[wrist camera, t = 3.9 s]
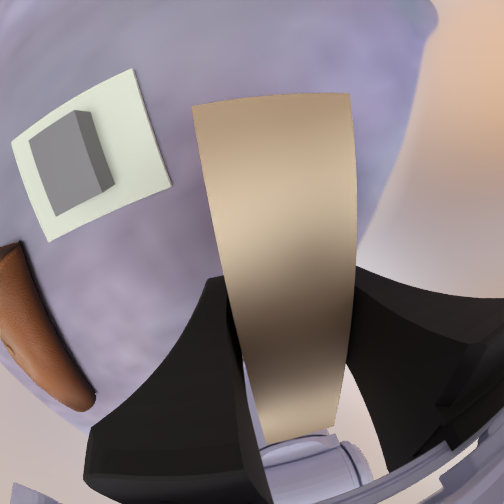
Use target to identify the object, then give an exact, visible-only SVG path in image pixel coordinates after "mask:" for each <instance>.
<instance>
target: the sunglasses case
mask: <svg viewBox="0 0 504 504" xmlns="http://www.w3.org/2000/svg"><path fill="white" fill-rule="evenodd" d="M0 339H1V340H2V342H3V343H4V345H5V347H6V348H7V350H8V352H9V353H10V355H11V356H12V358H13V359H14V361H15V362H16V363H17V364H18V365H19V366H20V367H21V368H22V369H23V370H24V371H25V372H26V374H27V375H28V376H29V377H30V378H31V379H32V380H33V381H34V382H35V383H36V384H37V385H38V386H39V387H41V388H42V389H43V390H44V391H46V392H47V393H48V394H49V395H51V396H52V397H53V398H55V399H56V400H58V401H59V402H60V403H62V404H64V405H65V406H67V407H69V408H71V409H73V410H75V411H77V412H85V411H87V410H89V409H90V408H91V407H92V406H93V405H94V403H95V401H96V395H95V392H94V391H93V389H92V388H91V387H90V385H89V384H88V383H87V381H86V380H85V379H84V378H83V376H82V374H81V373H80V372H79V371H78V369H77V368H76V366H75V364H74V363H73V362H72V360H71V359H70V357H69V356H68V354H67V352H66V350H65V348H64V347H63V345H62V343H61V341H60V339H59V337H58V335H57V333H56V331H55V330H54V328H53V326H52V324H51V322H50V320H49V318H48V316H47V313H46V311H45V309H44V306H43V304H42V302H41V300H40V297H39V295H38V293H37V290H36V288H35V285H34V283H33V280H32V277H31V274H30V271H29V268H28V266H27V263H26V260H25V256H24V253H23V250H22V248H21V246H20V243H19V242H18V243H13V244H9V245H6V246H3V247H0Z"/></svg>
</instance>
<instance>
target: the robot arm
mask: <svg viewBox="0 0 504 504" xmlns="http://www.w3.org/2000/svg"><path fill="white" fill-rule="evenodd" d="M346 364H347V366H348V368H349V370H350V371H351V373H352V375H353V377H354V379H355V381H356V383H357V386H358V388H359V390H360V392H361V395H362V397H363V399H364V402H365V404H366V406H367V409H368V411H369V414H370V416H371V419H372V422H373V424H374V427H375V430H376V433H377V435H378V439H379V442H380V445H381V448H382V452H383V455H384V458H385V462H386V466H387V469H388V471H389V474H387V475H385V476H383V477H381V478H379V479H377V480H374V481H373V476H372V473H371V469H370V467H369V464H368V462H367V460H366V458H365V456H364V455H363V453H362V452H361V450H360V449H359V448H358V447H357V446H355V445H353V444H351V443H350V442H348V441H342V442H340V443H339V441H338V438H337V436H336V434H332V435H329V433H328V430H327V428H326V429H323V430H320V431H317V432H314V433H310V434H307V435H304V436H300V437H297V438H293V439H289V440H285V441H281V442H277V443H273V444H269V445H267V444H266V441H265V437H264V434H263V430H262V427H261V423H260V419H259V416H258V412H257V408H256V405H255V401H254V397H253V394H252V390H251V386H250V382H249V378H248V374H247V370H246V367H245V363H244V361H243V358H242V351H241V347H240V342H239V338H238V334H237V330H236V326H235V322H234V318H233V313H232V309H231V305H230V300H229V296H228V292H227V287H226V283H225V278H224V276H219V277H214V278H209V279H208V280H207V281H206V284H205V287H204V290H203V292H202V295H201V297H200V299H199V302H198V304H197V306H196V308H195V310H194V312H193V315H192V317H191V318H190V320H189V322H188V324H187V326H186V327H185V329H184V331H183V333H182V334H181V336H180V338H179V339H178V341H177V342H176V344H175V345H174V347H173V348H172V350H171V351H170V353H169V354H168V355H167V357H166V358H165V359H164V360H163V362H162V363H161V364H160V365H159V367H158V368H157V369H156V370H155V371H154V372H153V374H152V375H151V376H150V377H149V378H148V379H147V380H146V381H145V382H144V383H143V384H142V385H141V386H140V387H139V388H138V389H137V390H136V391H135V392H134V393H133V394H132V395H131V396H130V397H129V398H128V399H127V400H126V401H124V402H123V403H122V404H121V405H120V406H119V407H117V408H116V409H115V410H113V411H112V412H111V413H110V414H108V415H107V416H106V417H104V418H103V419H102V420H100V421H99V422H98V423H96V424H95V425H94V426H92V427H91V430H90V434H89V439H88V442H87V450H86V457H85V465H84V474H83V480H84V481H85V482H86V484H87V485H88V486H89V487H90V488H91V489H93V490H95V491H96V492H98V493H100V494H102V495H104V496H106V497H108V498H110V499H112V500H115V501H117V502H119V503H121V504H377V503H379V502H381V501H383V500H385V499H387V498H389V497H391V496H393V495H395V494H397V493H399V492H400V491H403V490H405V489H406V488H408V487H410V486H411V485H413V484H415V483H417V482H418V481H420V480H422V479H423V478H425V477H426V476H428V475H430V474H431V473H432V472H434V471H436V470H437V469H439V468H440V467H442V466H443V465H444V464H446V463H447V462H449V461H450V460H451V459H453V458H454V457H455V456H457V455H458V454H459V453H461V452H462V451H463V450H465V449H466V448H467V447H468V446H470V445H471V444H472V443H473V442H474V441H475V440H477V439H478V438H479V439H478V445H477V448H476V449H475V450H473V451H472V452H471V453H470V454H469V455H467V456H466V457H465V458H464V459H463V460H461V461H460V462H459V463H458V464H456V465H455V466H453V467H452V468H451V469H449V470H448V471H447V472H445V473H444V474H442V475H441V476H440V478H439V480H440V482H441V483H442V485H443V488H441V489H440V490H438V491H437V492H435V493H434V494H432V495H430V496H429V497H427V498H426V499H424V500H423V501H421V502H419V503H417V504H504V298H472V297H462V296H454V295H448V294H442V293H437V292H432V291H428V290H423V289H420V288H416V287H412V286H408V285H406V284H402V283H399V282H396V281H393V280H391V279H388V278H385V277H382V276H380V275H377V274H375V273H372V272H370V271H367V270H365V269H363V268H360V267H358V266H356V269H355V284H354V297H353V308H352V318H351V327H350V335H349V343H348V351H347V357H346ZM10 504H61V503H58V502H57V501H56V500H54V499H52V498H50V497H48V496H46V495H44V494H41V493H39V492H37V491H35V490H32V489H30V488H27V487H25V486H22V485H20V484H18V483H13V487H12V494H11V501H10Z"/></svg>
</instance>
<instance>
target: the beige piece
mask: <svg viewBox="0 0 504 504" xmlns="http://www.w3.org/2000/svg"><path fill="white" fill-rule="evenodd" d="M191 107H192V113H193V119H194V125H195V131H196V137H197V143H198V148H199V154H200V159H201V165H202V170H203V176H204V181H205V186H206V191H207V197H208V202H209V207H210V212H211V217H212V222H213V227H214V232H215V236H216V241H217V246H218V251H219V255H220V260H221V265H222V269H223V274H224V278H225V283H226V287H227V292H228V296H229V300H230V305H231V309H232V313H233V318H234V322H235V326H236V330H237V334H238V338H239V342H240V347H241V351H242V355H243V359H244V363H245V367H246V370H247V374H248V378H249V382H250V386H251V390H252V394H253V397H254V401H255V405H256V408H257V412H258V416H259V419H260V423H261V427H262V430H263V434H264V437H265V441H266V444H267V445H269V444H273V443H277V442H281V441H285V440H289V439H293V438H297V437H300V436H304V435H307V434H310V433H314V432H317V431H320V430H323V429H326V428H329V427H332V426H334V422H335V417H336V413H337V408H338V403H339V398H340V393H341V388H342V382H343V376H344V370H345V364H346V357H347V351H348V343H349V335H350V327H351V318H352V308H353V297H354V284H355V269H356V246H357V180H356V158H355V143H354V131H353V120H352V110H351V102H350V94H349V93H300V94H281V95H268V96H257V97H248V98H240V99H232V100H225V101H219V102H213V103H207V104H201V105H196V106H191Z"/></svg>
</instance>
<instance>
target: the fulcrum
mask: <svg viewBox="0 0 504 504" xmlns="http://www.w3.org/2000/svg"><path fill="white" fill-rule="evenodd" d="M11 144H12V148H13V151H14V155H15V158H16V162H17V165H18V168H19V171H20V174H21V177H22V180H23V183H24V186H25V188H26V191H27V194H28V196H29V199H30V201H31V204H32V206H33V209H34V211H35V214H36V216H37V218H38V221H39V223H40V225H41V227H42V230H43V232H44V234H45V236H46V238H47V240H48V242H50V241H52V240H54V239H56V238H58V237H60V236H62V235H64V234H66V233H68V232H70V231H72V230H74V229H76V228H78V227H80V226H82V225H84V224H86V223H88V222H90V221H92V220H94V219H96V218H99V217H101V216H103V215H105V214H107V213H110V212H112V211H114V210H116V209H119V208H121V207H123V206H125V205H128V204H130V203H132V202H135V201H137V200H140V199H142V198H144V197H147V196H149V195H152V194H154V193H157V192H159V191H162V190H165V189H167V188H170V187H171V186H172V183H171V181H170V178H169V175H168V172H167V170H166V167H165V164H164V161H163V158H162V155H161V153H160V150H159V147H158V144H157V141H156V138H155V135H154V132H153V129H152V126H151V123H150V120H149V117H148V114H147V111H146V107H145V104H144V101H143V98H142V95H141V91H140V88H139V85H138V81H137V78H136V74H135V71H134V70H133V69H129V70H127V71H125V72H123V73H121V74H118V75H116V76H114V77H112V78H110V79H108V80H106V81H104V82H102V83H100V84H98V85H96V86H94V87H92V88H91V89H89V90H87V91H85V92H83V93H82V94H80V95H78V96H76V97H75V98H73V99H71V100H70V101H68V102H66V103H65V104H63V105H62V106H60V107H58V108H57V109H55V110H54V111H52V112H51V113H49V114H48V115H46V116H45V117H44V118H42V119H41V120H39V121H38V122H37V123H35V124H34V125H32V126H31V127H30V128H28V129H27V130H26V131H24V132H23V133H22V134H21V135H19V136H18V137H17V138H16V139H14V140H13V141H12V142H11Z"/></svg>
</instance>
